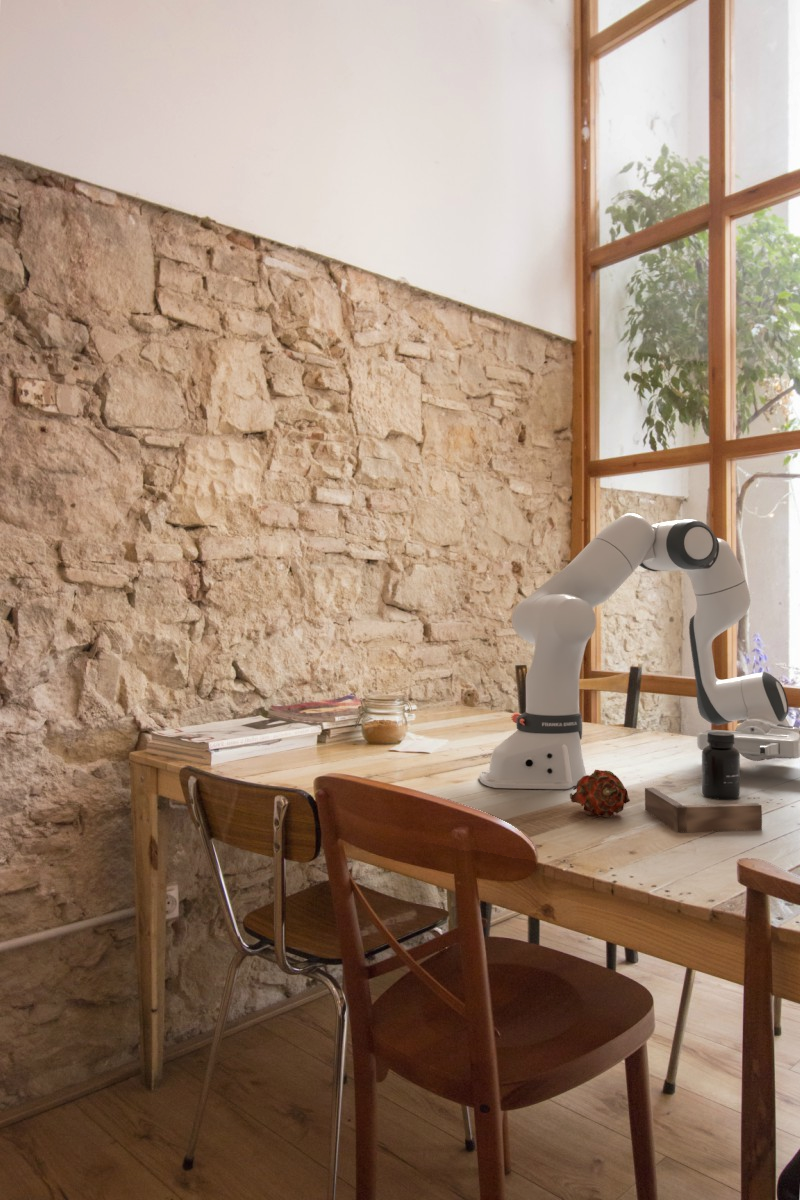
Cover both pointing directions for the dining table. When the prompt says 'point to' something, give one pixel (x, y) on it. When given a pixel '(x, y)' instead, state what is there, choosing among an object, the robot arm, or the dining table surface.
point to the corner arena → (703, 814)
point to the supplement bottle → (720, 767)
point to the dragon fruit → (600, 794)
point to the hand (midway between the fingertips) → (739, 748)
